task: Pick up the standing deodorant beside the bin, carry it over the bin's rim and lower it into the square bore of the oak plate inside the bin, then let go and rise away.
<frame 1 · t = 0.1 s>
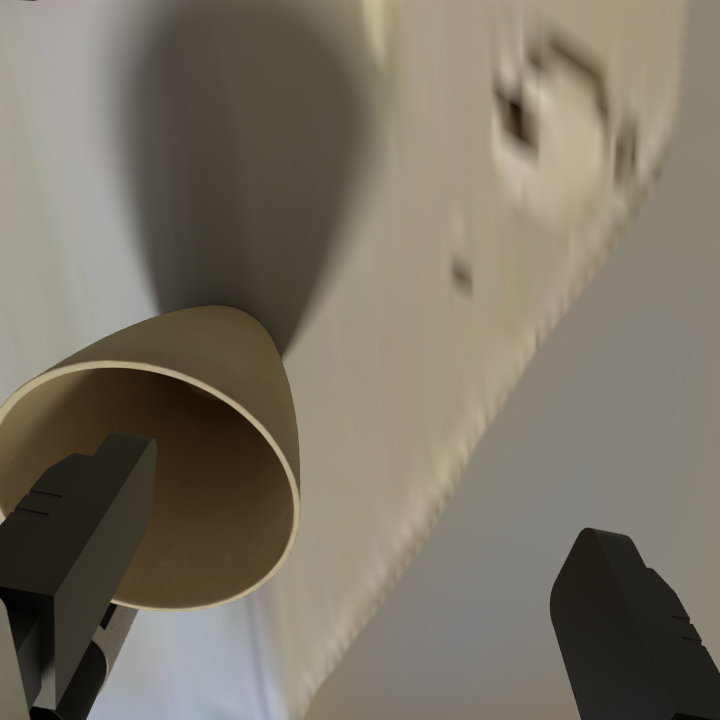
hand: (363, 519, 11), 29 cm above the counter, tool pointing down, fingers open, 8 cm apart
glass holder: (124, 536, 51), on the counter
plant pot: (224, 354, 43), on the counter
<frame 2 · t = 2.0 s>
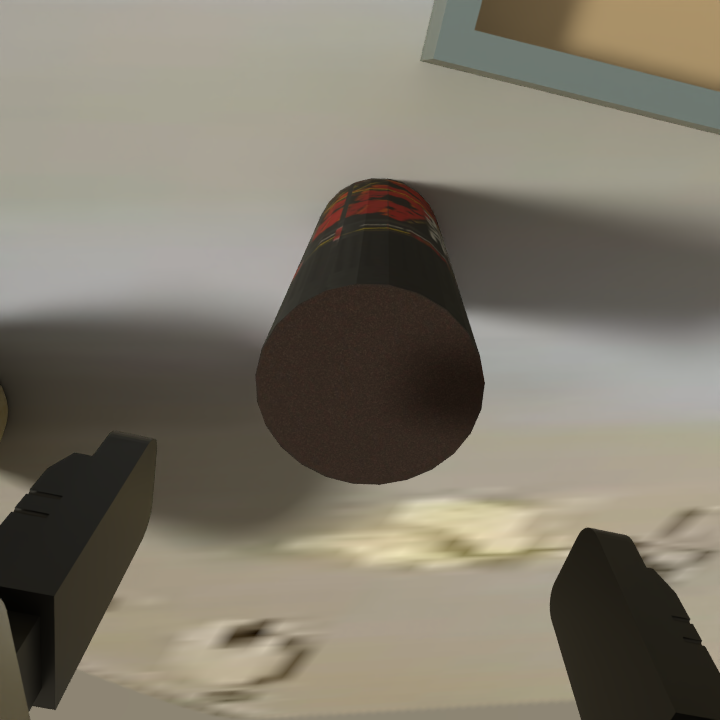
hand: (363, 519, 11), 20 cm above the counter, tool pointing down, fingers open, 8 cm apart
deodorant: (377, 240, 29), on the counter
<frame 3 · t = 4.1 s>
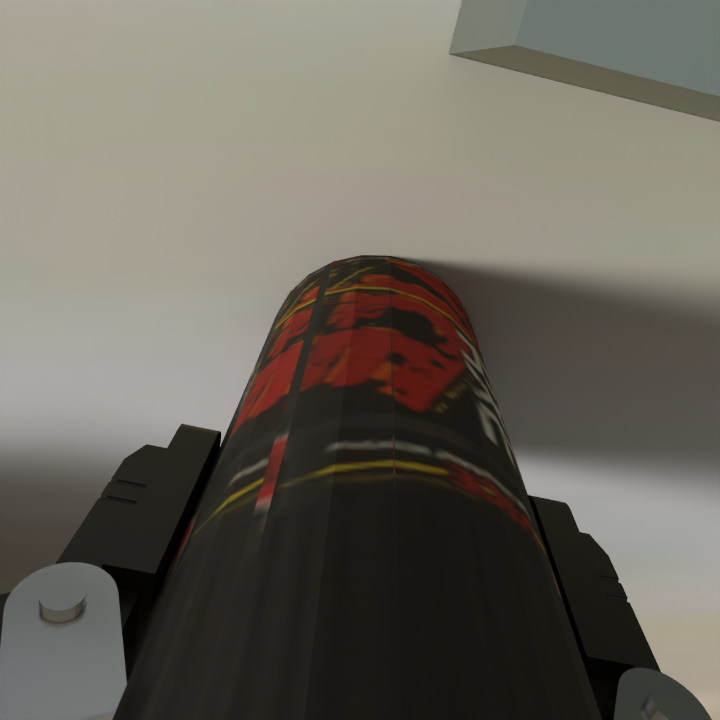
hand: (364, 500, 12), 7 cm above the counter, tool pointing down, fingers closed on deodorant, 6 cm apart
deodorant: (371, 350, 18), on the counter, touching gripper
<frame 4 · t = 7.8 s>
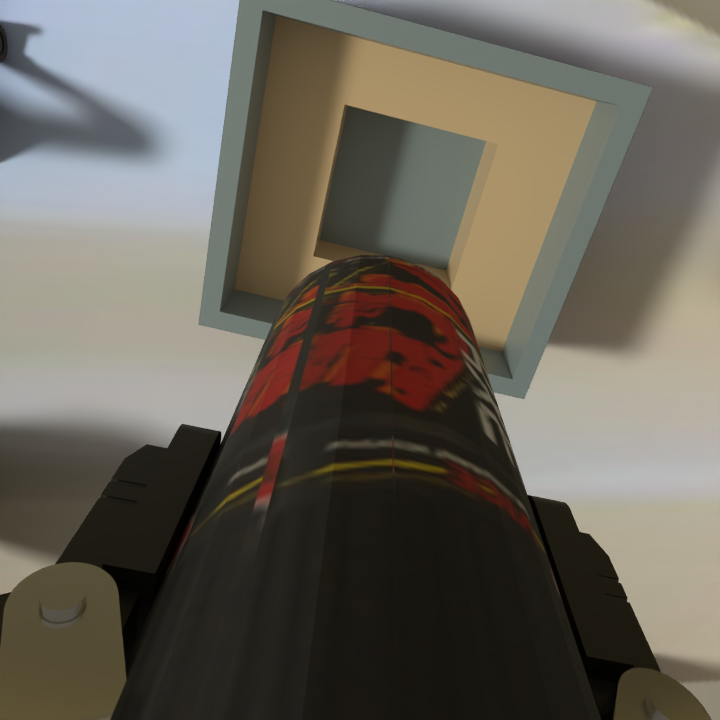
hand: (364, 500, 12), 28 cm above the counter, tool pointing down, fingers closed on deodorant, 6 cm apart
deodorant: (371, 350, 18), point 21 cm above the counter, touching gripper
bin: (399, 187, 36), on the counter
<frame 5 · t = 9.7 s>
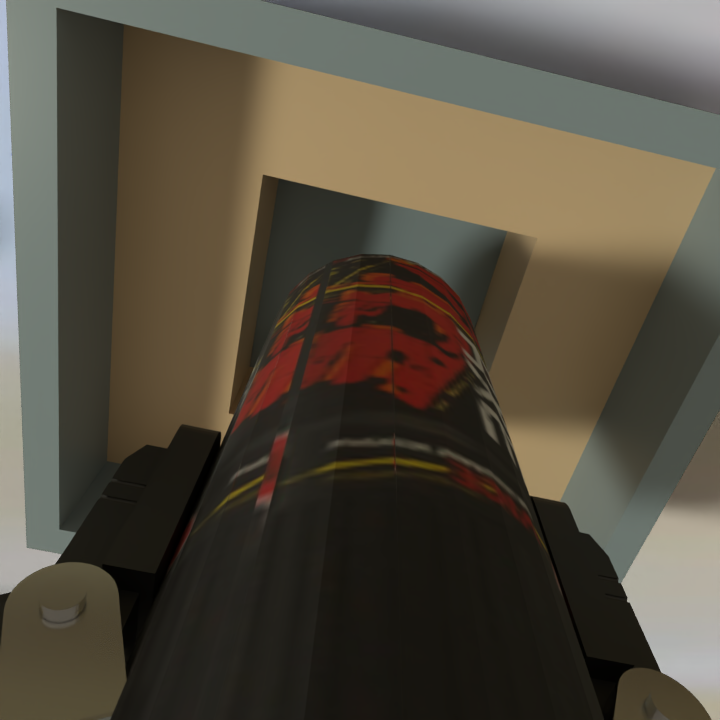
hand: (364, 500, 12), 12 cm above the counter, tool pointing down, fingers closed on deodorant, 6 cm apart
deodorant: (372, 349, 18), point 6 cm above the counter, touching gripper
bin: (373, 285, 23), on the counter
when the fingers open (8 cm above the counter, at t = 11.6 s): deodorant stays where it is, resting on bin.
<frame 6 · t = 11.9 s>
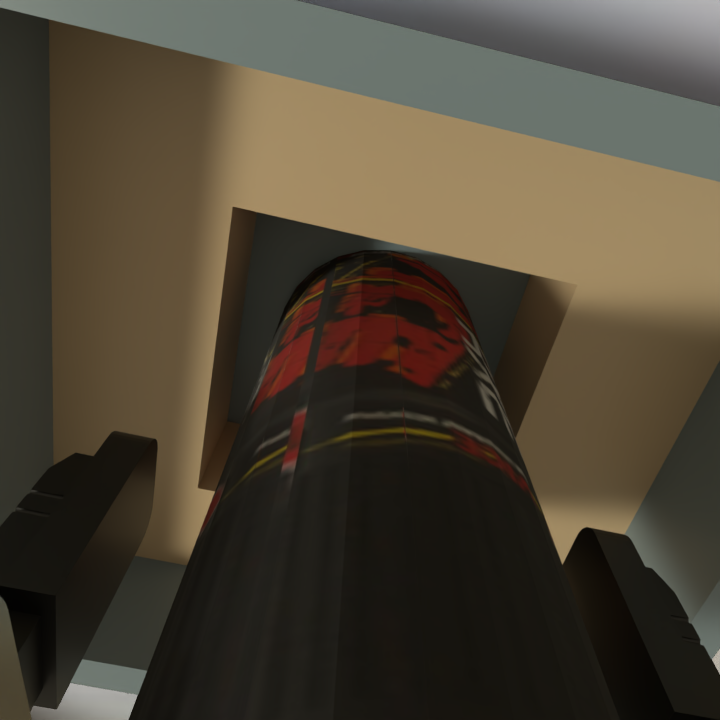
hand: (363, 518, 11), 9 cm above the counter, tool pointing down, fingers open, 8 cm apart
deodorant: (375, 341, 19), point 1 cm above the counter, touching bin
bin: (372, 327, 19), on the counter
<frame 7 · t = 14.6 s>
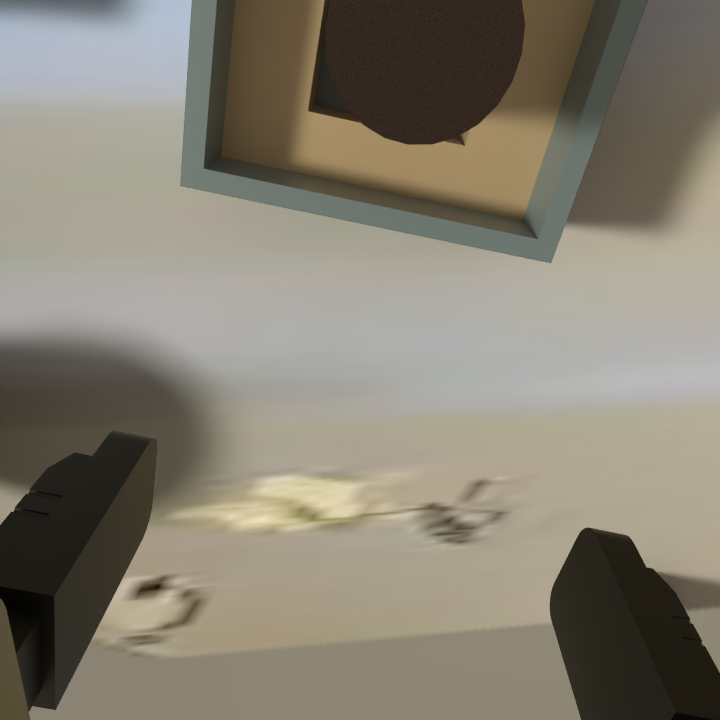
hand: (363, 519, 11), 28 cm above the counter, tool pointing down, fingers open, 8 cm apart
deodorant: (405, 42, 31), point 1 cm above the counter, touching bin
bin: (402, 40, 32), on the counter
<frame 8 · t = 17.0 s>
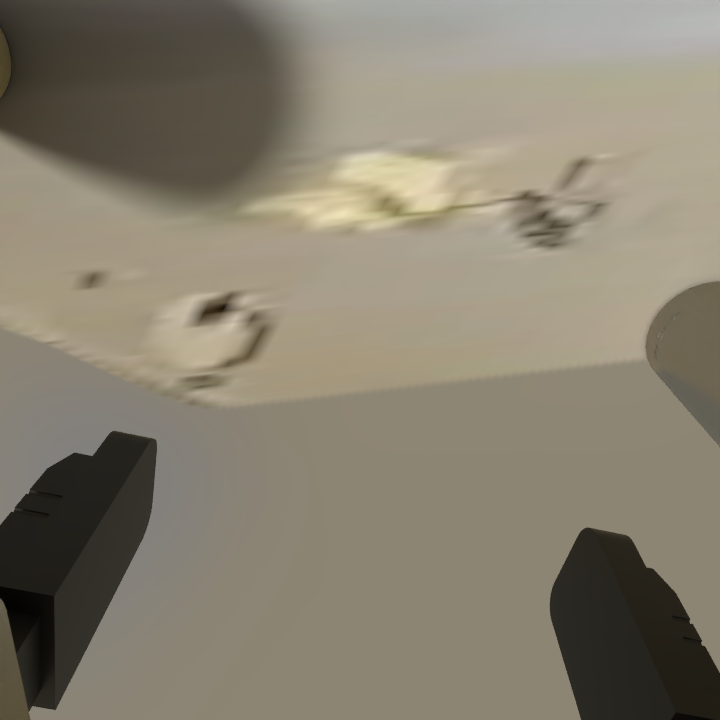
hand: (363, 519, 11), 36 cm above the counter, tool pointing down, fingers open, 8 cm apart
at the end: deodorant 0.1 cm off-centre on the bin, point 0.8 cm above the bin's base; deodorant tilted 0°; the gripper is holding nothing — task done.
